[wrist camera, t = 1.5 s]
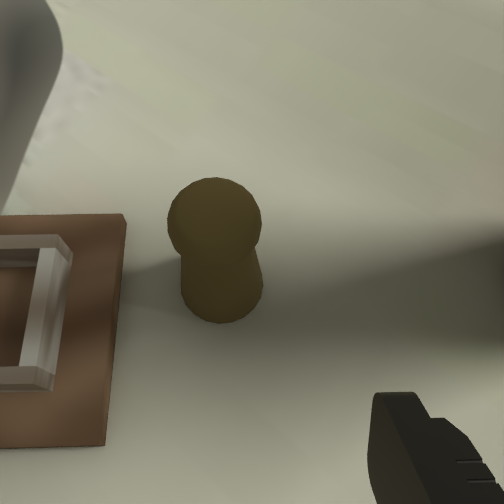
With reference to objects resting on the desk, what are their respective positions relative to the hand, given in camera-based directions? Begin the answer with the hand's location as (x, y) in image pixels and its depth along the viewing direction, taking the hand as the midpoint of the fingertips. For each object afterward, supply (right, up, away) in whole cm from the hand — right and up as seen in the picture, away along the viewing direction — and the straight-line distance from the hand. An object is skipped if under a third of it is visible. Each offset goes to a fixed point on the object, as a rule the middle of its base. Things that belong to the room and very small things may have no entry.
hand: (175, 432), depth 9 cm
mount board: (-16, -2, +23) cm, 28 cm away
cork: (-1, +1, +25) cm, 25 cm away
